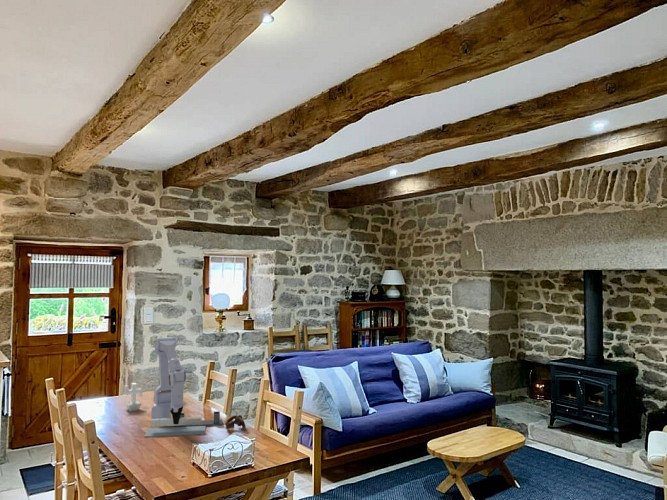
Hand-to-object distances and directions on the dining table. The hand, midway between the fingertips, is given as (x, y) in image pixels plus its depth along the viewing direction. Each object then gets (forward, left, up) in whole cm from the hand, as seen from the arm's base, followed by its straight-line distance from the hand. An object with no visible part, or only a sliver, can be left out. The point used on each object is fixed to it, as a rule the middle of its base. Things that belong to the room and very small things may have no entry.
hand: (176, 422), depth 246 cm
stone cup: (-39, +50, -5) cm, 64 cm away
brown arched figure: (+26, +14, -5) cm, 30 cm away
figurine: (-45, +24, -4) cm, 51 cm away
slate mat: (0, 0, -4) cm, 4 cm away
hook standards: (+4, +14, -4) cm, 15 cm away
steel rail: (0, 0, -1) cm, 1 cm away
